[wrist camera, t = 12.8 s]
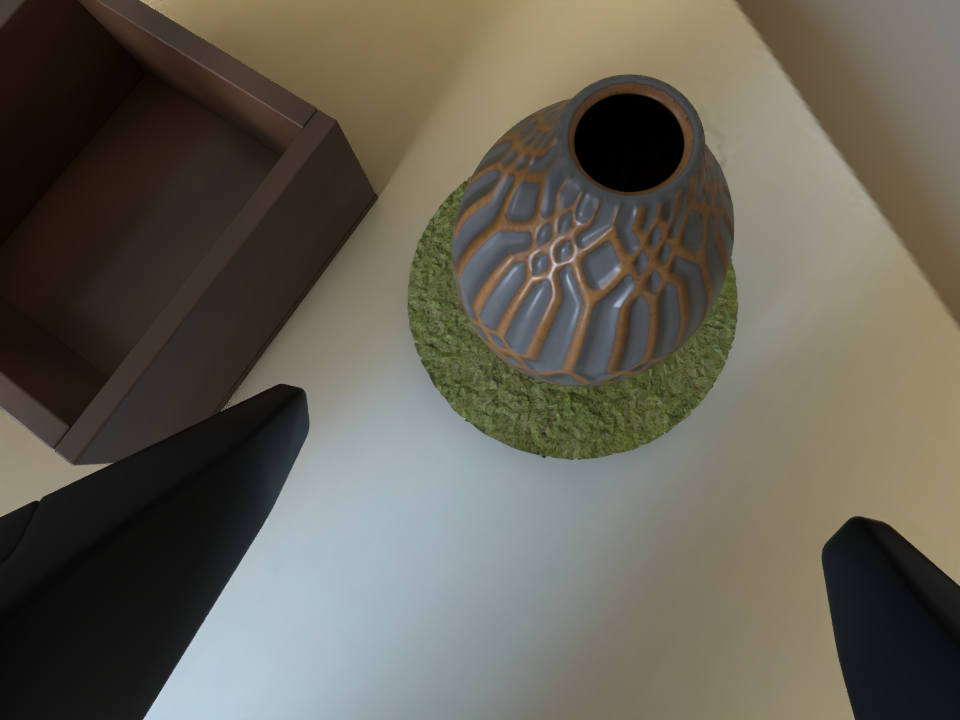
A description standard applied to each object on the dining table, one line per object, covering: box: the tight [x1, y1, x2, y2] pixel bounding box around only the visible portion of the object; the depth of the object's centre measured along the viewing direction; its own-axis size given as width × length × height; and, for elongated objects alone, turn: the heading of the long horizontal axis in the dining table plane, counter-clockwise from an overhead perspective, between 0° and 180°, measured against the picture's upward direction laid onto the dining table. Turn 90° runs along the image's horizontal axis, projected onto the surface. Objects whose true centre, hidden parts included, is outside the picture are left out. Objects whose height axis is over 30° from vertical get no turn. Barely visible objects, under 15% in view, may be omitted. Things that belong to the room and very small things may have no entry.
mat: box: [408, 176, 738, 460], centre depth 17 cm, size 11×11×2 cm
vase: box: [452, 75, 734, 387], centre depth 12 cm, size 7×7×9 cm
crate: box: [0, 0, 378, 465], centre depth 17 cm, size 13×13×5 cm
